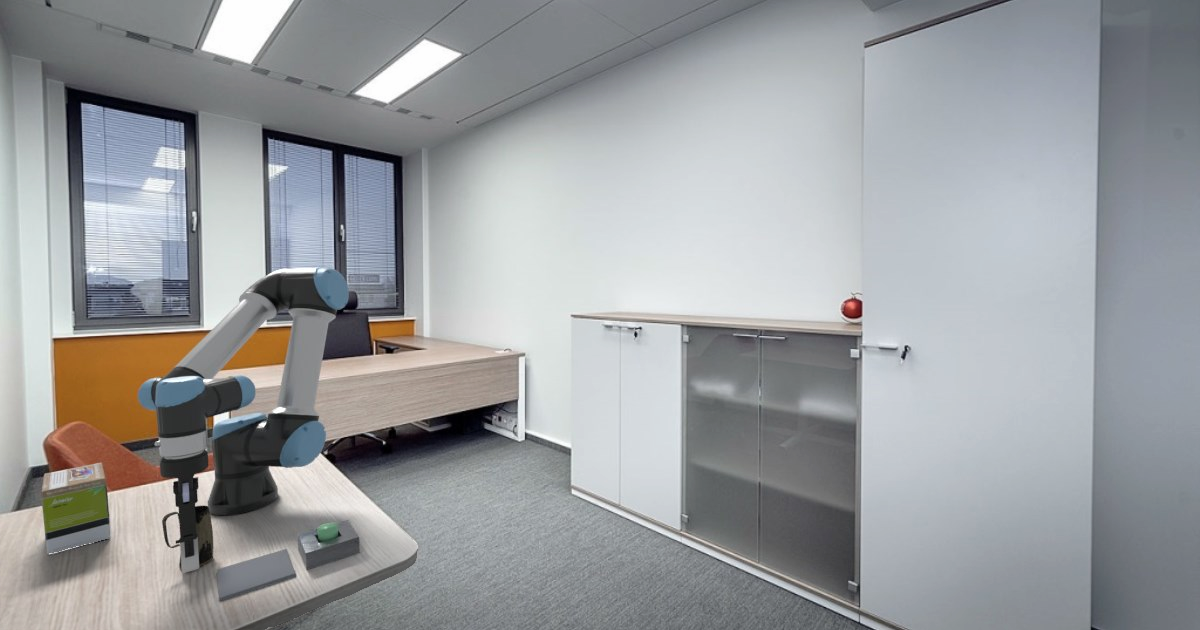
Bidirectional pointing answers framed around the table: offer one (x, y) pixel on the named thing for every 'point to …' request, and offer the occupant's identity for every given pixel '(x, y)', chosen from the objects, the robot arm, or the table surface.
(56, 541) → the tea box
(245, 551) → the table surface
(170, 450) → the robot arm
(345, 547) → the button box
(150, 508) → the table surface
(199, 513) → the mug
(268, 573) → the mat
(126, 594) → the table surface
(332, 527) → the button
